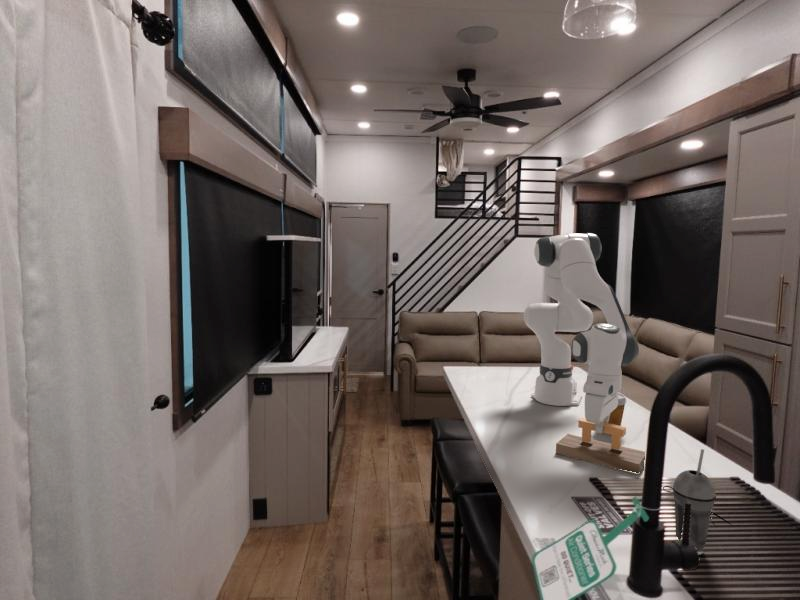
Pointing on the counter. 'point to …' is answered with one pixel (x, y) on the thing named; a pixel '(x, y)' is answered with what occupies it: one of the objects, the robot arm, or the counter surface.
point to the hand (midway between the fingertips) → (601, 430)
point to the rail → (601, 453)
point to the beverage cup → (694, 503)
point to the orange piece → (608, 429)
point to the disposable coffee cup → (618, 411)
